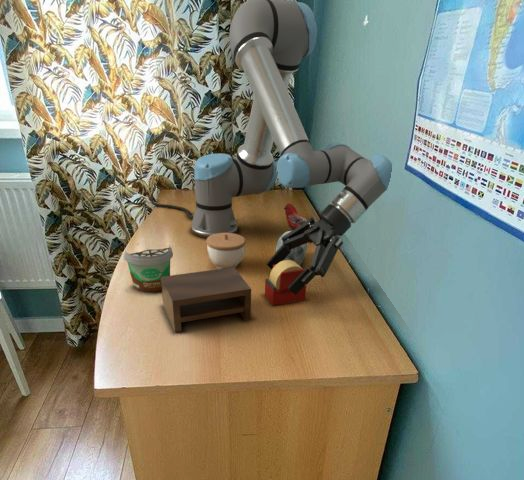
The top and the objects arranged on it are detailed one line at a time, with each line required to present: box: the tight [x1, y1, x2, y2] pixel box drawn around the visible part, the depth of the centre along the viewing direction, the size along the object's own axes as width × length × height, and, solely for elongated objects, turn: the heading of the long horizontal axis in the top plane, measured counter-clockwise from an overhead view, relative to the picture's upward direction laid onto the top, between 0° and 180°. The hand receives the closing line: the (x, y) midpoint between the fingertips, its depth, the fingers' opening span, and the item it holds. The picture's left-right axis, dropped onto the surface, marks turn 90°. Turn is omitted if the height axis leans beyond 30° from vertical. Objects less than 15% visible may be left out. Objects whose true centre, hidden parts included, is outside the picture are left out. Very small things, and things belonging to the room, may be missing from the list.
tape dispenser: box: [264, 260, 307, 306], centre depth 113 cm, size 5×9×10 cm, turn 112°
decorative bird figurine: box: [283, 203, 309, 231], centre depth 147 cm, size 3×18×10 cm, turn 43°
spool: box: [275, 230, 308, 267], centre depth 132 cm, size 14×10×10 cm
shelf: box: [161, 267, 252, 333], centre depth 106 cm, size 12×18×8 cm, turn 112°
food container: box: [123, 244, 174, 293], centre depth 114 cm, size 12×6×10 cm, turn 117°
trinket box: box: [206, 233, 246, 269], centre depth 128 cm, size 11×11×9 cm
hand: (279, 279), depth 113 cm, fingers open, 13 cm apart
